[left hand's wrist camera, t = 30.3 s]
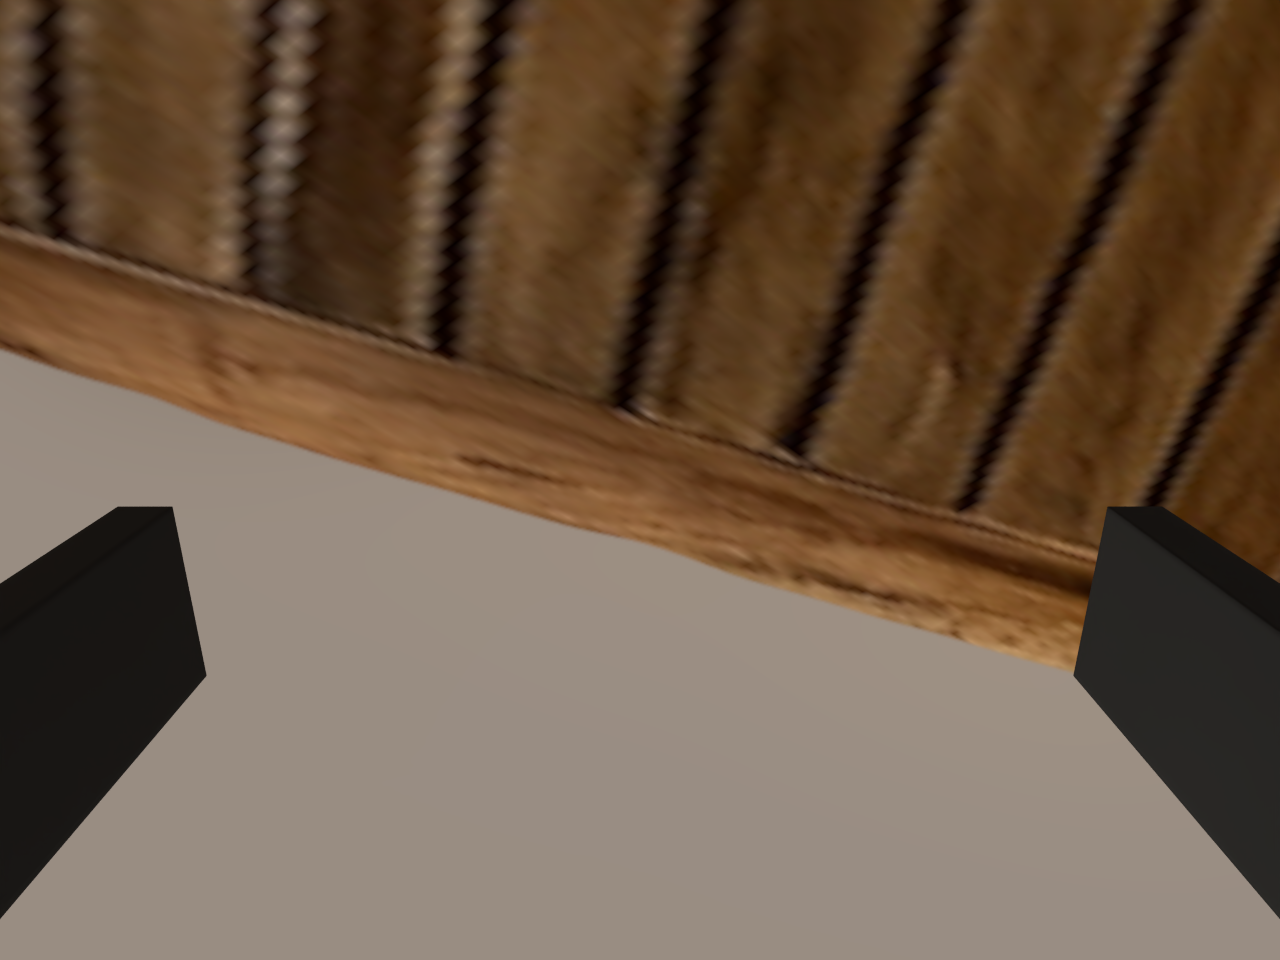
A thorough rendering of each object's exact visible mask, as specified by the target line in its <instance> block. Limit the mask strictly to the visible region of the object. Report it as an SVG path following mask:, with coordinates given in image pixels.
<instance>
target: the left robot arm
mask: <svg viewBox="0 0 1280 960" xmlns="http://www.w3.org/2000/svg"><path fill="white" fill-rule="evenodd" d="M205 677H206V671H205V666H204V661H203V656H202V651H201V646H200V641H199V636H198V631H197V626H196V621H195V616H194V611H193V606H192V601H191V596H190V591H189V587H188V582H187V577H186V572H185V567H184V562H183V557H182V552H181V547H180V542H179V537H178V532H177V527H176V522H175V517H174V512H173V507H117V508H115V509H113V510H112V511H110V512H109V513H107V514H106V515H104V516H103V517H101V518H100V519H98V520H97V521H95V522H94V523H92V524H91V525H89V526H88V527H86V528H85V529H83V530H81V531H80V532H78V533H77V534H75V535H74V536H72V537H71V538H69V539H68V540H66V541H65V542H63V543H62V544H60V545H58V546H57V547H55V548H54V549H52V550H51V551H49V552H48V553H46V554H45V555H43V556H42V557H40V558H39V559H37V560H36V561H34V562H33V563H31V564H30V565H28V566H26V567H25V568H23V569H22V570H20V571H19V572H17V573H16V574H14V575H13V576H11V577H10V578H8V579H7V580H5V581H4V582H2V583H0V918H1V917H2V916H3V915H4V914H5V913H6V911H7V910H8V909H9V908H10V907H11V905H12V904H13V903H14V902H15V901H16V900H17V898H18V897H19V896H20V895H21V894H22V893H23V891H24V890H25V889H26V888H27V887H28V885H29V884H30V883H31V882H32V881H33V880H34V878H35V877H36V876H37V875H38V874H39V872H40V871H41V870H42V869H43V868H44V867H45V865H46V864H47V863H48V862H49V861H50V859H51V858H52V857H53V856H54V855H55V854H56V852H57V851H58V850H59V849H60V848H61V847H62V845H63V844H64V843H65V842H66V841H67V840H68V838H69V837H70V836H71V835H72V834H73V832H74V831H75V830H76V829H77V828H78V827H79V825H80V824H81V823H82V822H83V821H84V819H85V818H86V817H87V816H88V815H89V814H90V812H91V811H92V810H93V809H94V808H95V806H96V805H97V804H98V803H99V802H100V801H101V799H102V798H103V797H104V796H105V795H106V794H107V792H108V791H109V790H110V789H111V788H112V786H113V785H114V784H115V783H116V782H117V781H118V779H119V778H120V777H121V776H122V775H123V773H124V772H125V771H126V770H127V769H128V768H129V766H130V765H131V764H132V763H133V762H134V761H135V759H136V758H137V757H138V756H139V755H140V753H141V752H142V751H143V750H144V749H145V748H146V746H147V745H148V744H149V743H150V742H151V741H152V739H153V738H154V737H155V736H156V735H157V733H158V732H159V731H160V730H161V729H162V728H163V726H164V725H165V724H166V723H167V722H168V720H169V719H170V718H171V717H172V716H173V715H174V713H175V712H176V711H177V710H178V709H179V708H180V706H181V705H182V704H183V703H184V702H185V700H186V699H187V698H188V697H189V696H190V695H191V693H192V692H193V691H194V690H195V689H196V688H197V686H198V685H199V684H200V683H201V682H202V680H203V679H204V678H205ZM1074 677H1075V678H1076V679H1077V680H1078V682H1079V683H1080V684H1081V685H1082V686H1083V688H1084V689H1085V690H1086V691H1087V692H1088V693H1089V695H1090V696H1091V697H1092V698H1093V699H1094V700H1095V702H1096V703H1097V704H1098V705H1099V706H1100V707H1101V709H1102V710H1103V711H1104V712H1105V713H1106V715H1107V716H1108V717H1109V718H1110V719H1111V720H1112V722H1113V723H1114V724H1115V725H1116V726H1117V728H1118V729H1119V730H1120V731H1121V732H1122V733H1123V735H1124V736H1125V737H1126V738H1127V739H1128V741H1129V742H1130V743H1131V744H1132V745H1133V746H1134V748H1135V749H1136V750H1137V751H1138V752H1139V753H1140V755H1141V756H1142V757H1143V758H1144V759H1145V761H1146V762H1147V763H1148V764H1149V765H1150V766H1151V768H1152V769H1153V770H1154V771H1155V772H1156V774H1157V775H1158V776H1159V777H1160V778H1161V779H1162V781H1163V782H1164V783H1165V784H1166V785H1167V786H1168V788H1169V789H1170V790H1171V791H1172V792H1173V794H1174V795H1175V796H1176V797H1177V798H1178V799H1179V801H1180V802H1181V803H1182V804H1183V805H1184V806H1185V808H1186V809H1187V810H1188V811H1189V812H1190V814H1191V815H1192V816H1193V817H1194V818H1195V819H1196V821H1197V822H1198V823H1199V824H1200V825H1201V827H1202V828H1203V829H1204V830H1205V831H1206V832H1207V834H1208V835H1209V836H1210V837H1211V838H1212V840H1213V841H1214V842H1215V843H1216V844H1217V845H1218V847H1219V848H1220V849H1221V850H1222V851H1223V852H1224V854H1225V855H1226V856H1227V857H1228V858H1229V860H1230V861H1231V862H1232V863H1233V864H1234V865H1235V867H1236V868H1237V869H1238V870H1239V871H1240V873H1241V874H1242V875H1243V876H1244V877H1245V878H1246V880H1247V881H1248V882H1249V883H1250V884H1251V885H1252V887H1253V888H1254V889H1255V890H1256V891H1257V893H1258V894H1259V895H1260V896H1261V897H1262V898H1263V900H1264V901H1265V902H1266V903H1267V904H1268V905H1269V907H1270V908H1271V909H1272V910H1273V911H1274V912H1275V914H1276V915H1277V916H1278V917H1279V918H1280V583H1278V582H1277V581H1275V580H1273V579H1272V578H1270V577H1269V576H1267V575H1266V574H1264V573H1263V572H1261V571H1260V570H1258V569H1257V568H1255V567H1254V566H1252V565H1251V564H1249V563H1247V562H1246V561H1244V560H1243V559H1241V558H1240V557H1238V556H1237V555H1235V554H1234V553H1232V552H1231V551H1229V550H1228V549H1226V548H1225V547H1223V546H1222V545H1220V544H1218V543H1217V542H1215V541H1214V540H1212V539H1211V538H1209V537H1208V536H1206V535H1205V534H1203V533H1202V532H1200V531H1199V530H1197V529H1196V528H1194V527H1192V526H1191V525H1189V524H1188V523H1186V522H1185V521H1183V520H1182V519H1180V518H1179V517H1177V516H1176V515H1174V514H1173V513H1171V512H1170V511H1168V510H1167V509H1165V508H1163V507H1107V512H1106V517H1105V522H1104V527H1103V532H1102V537H1101V542H1100V547H1099V552H1098V557H1097V562H1096V567H1095V572H1094V577H1093V581H1092V586H1091V591H1090V596H1089V601H1088V606H1087V611H1086V616H1085V621H1084V626H1083V631H1082V636H1081V641H1080V646H1079V651H1078V656H1077V661H1076V666H1075V671H1074Z"/></svg>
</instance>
